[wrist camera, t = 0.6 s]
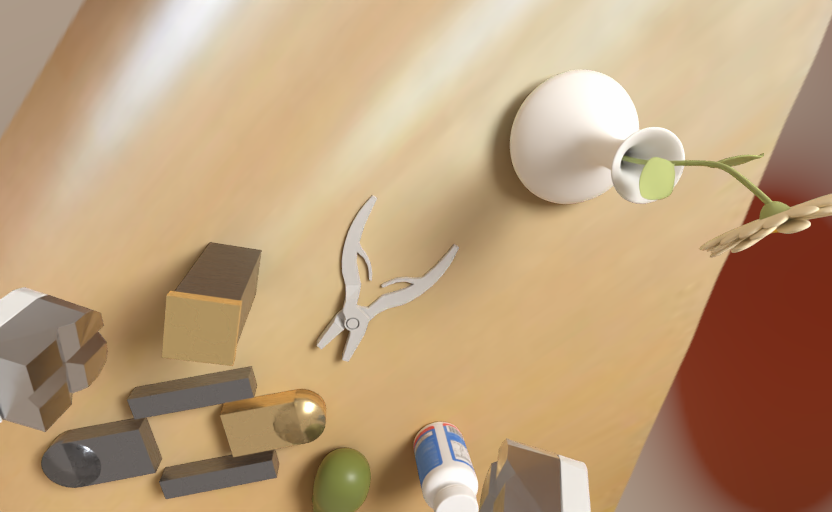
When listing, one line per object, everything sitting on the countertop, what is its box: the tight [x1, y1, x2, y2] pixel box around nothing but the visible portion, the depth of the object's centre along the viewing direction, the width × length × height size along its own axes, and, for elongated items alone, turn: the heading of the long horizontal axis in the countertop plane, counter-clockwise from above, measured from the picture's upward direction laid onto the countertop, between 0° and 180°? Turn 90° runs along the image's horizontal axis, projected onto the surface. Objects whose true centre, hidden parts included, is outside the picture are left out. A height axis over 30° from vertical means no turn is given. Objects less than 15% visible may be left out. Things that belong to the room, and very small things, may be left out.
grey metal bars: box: [41, 366, 279, 499], centre depth 52 cm, size 21×12×2 cm, turn 97°
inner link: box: [220, 389, 326, 457], centre depth 53 cm, size 10×5×2 cm, turn 97°
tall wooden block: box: [162, 242, 262, 366], centre depth 43 cm, size 5×5×12 cm
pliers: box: [317, 195, 459, 361], centre depth 50 cm, size 10×2×15 cm
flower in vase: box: [510, 69, 832, 257], centre depth 36 cm, size 13×11×25 cm
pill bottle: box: [413, 422, 478, 512], centre depth 53 cm, size 6×5×10 cm
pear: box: [312, 448, 371, 512], centre depth 56 cm, size 6×5×10 cm
